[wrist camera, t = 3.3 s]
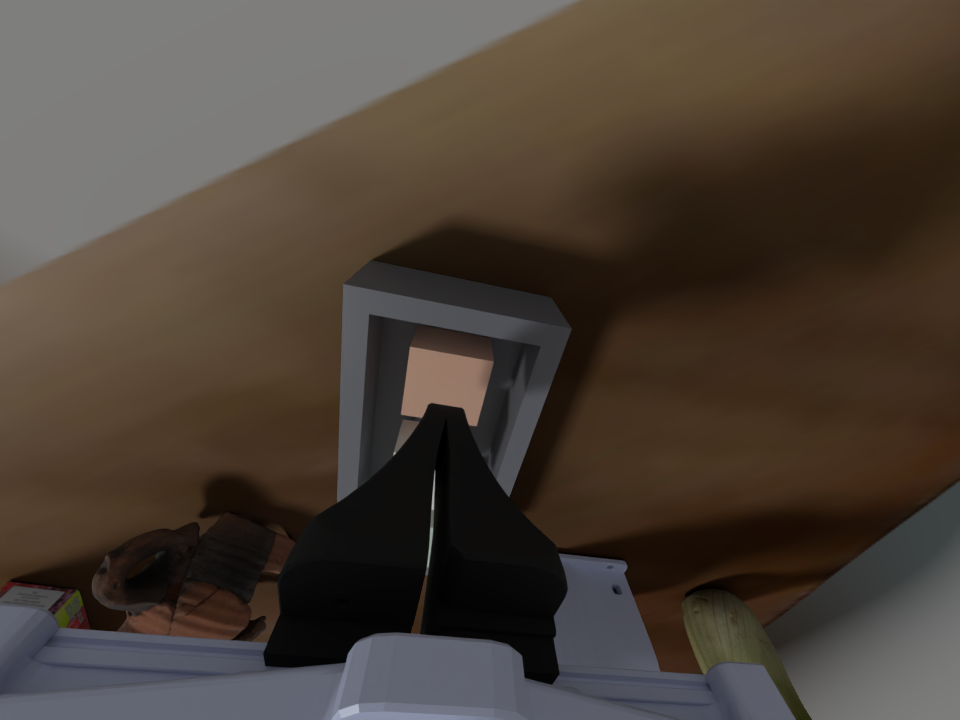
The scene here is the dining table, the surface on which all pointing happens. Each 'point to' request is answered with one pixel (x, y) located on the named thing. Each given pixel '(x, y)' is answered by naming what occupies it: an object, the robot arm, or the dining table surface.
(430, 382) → the key
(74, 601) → the snack box
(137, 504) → the dining table surface
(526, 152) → the dining table surface
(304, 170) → the dining table surface
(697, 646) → the fennel bulb
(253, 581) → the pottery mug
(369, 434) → the grey rectangular tray
